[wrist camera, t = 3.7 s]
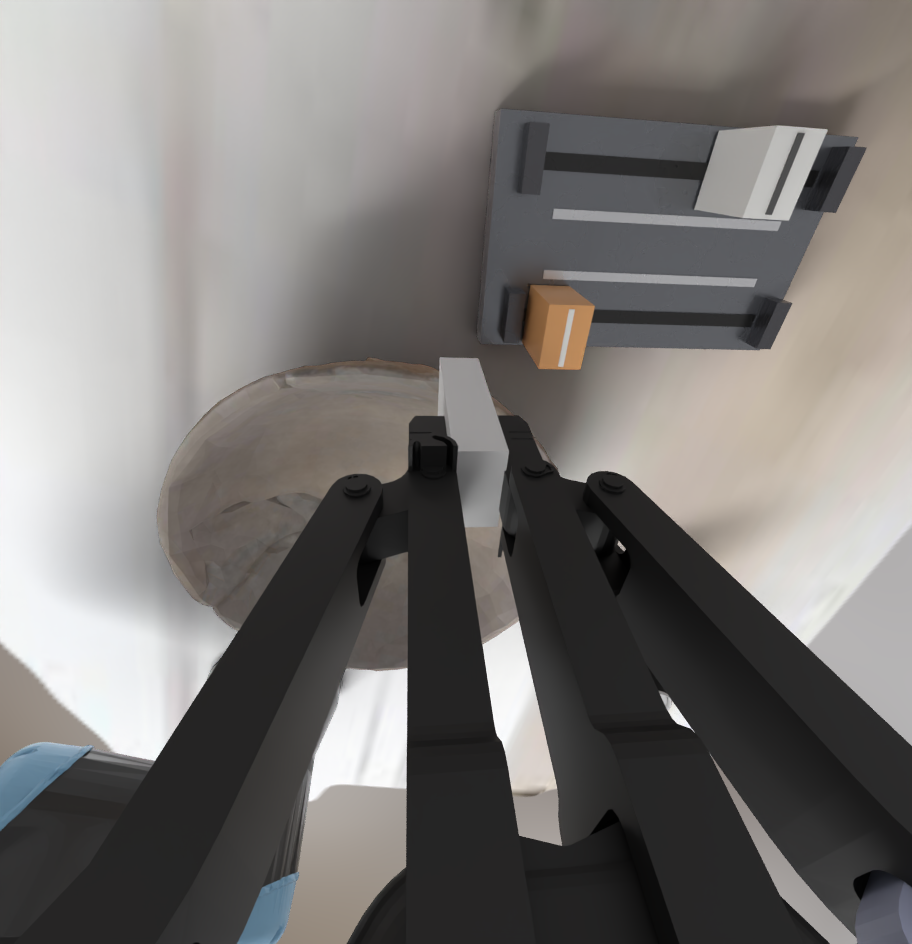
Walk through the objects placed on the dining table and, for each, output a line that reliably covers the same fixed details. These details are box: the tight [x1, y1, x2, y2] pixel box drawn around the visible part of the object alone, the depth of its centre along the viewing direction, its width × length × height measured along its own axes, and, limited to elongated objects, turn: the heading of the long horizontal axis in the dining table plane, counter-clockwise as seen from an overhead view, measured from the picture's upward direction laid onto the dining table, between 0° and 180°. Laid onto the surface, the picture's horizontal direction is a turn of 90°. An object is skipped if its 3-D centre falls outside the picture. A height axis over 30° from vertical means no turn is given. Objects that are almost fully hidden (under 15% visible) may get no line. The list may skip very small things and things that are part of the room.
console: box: [476, 109, 866, 350], centre depth 27 cm, size 20×12×3 cm, turn 87°
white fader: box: [694, 125, 828, 221], centre depth 22 cm, size 2×4×5 cm
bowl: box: [157, 357, 558, 671], centre depth 33 cm, size 26×26×10 cm
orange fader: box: [522, 285, 595, 370], centre depth 26 cm, size 2×4×5 cm
